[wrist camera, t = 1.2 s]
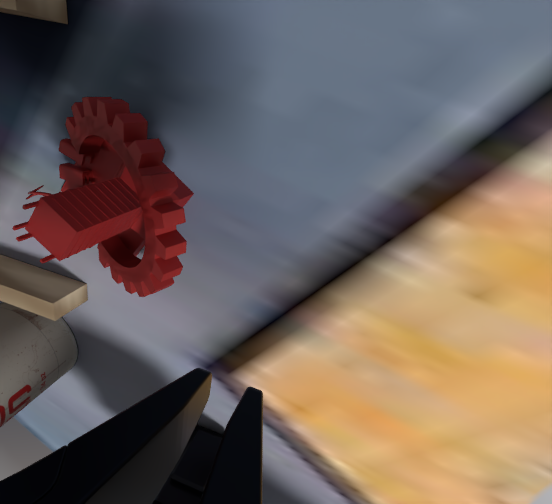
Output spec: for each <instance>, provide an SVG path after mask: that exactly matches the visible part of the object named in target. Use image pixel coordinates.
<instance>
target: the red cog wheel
mask: <svg viewBox="0 0 552 504" xmlns="http://www.w3.org/2000/svg"><path fill="white" fill-rule="evenodd" d="M82 101H83V102H75V103H74V104H73V106H72V107H71V108H72V112H73V116H74V117H67V120H66V124H65V125H66V128H67V130H68V133H69V135H70V138H71V139H68V138H67V139H62V140H61V141H60V145H59V151H60V152H61V153H63V154H64V155H66V156H68V157H69V158H71V159H73V160H74V161H76V163H75V165H74V164H70V163H65V164H60V166H59V171H60V178H61V179H64V180H66V182H65V183H64V185H63V187H62V189H61V191H62V192H59V193H56V194H50V193H45V192H36V191H37V190H39V189H40V188H41V187H43V186H44V185H42V186H41V187H39V188H37V189H35V190H33V191H31V192H28V193H29V194H31V195H30V196H29V197H27V198H26V199H29V198H30V197H32V196H34V195H43V196H45V197H41V198H40V200H39V201H37V202H33V203H29V204H25V205H23V207H22V208H23V209H24V210H25V209H29V208H32V207H36V208H35V210H34V212H33V214H32V216H31V218H30V220H29V221H28V222H25V223H22V224H19V225H15V226H13V228H12V229H13V230H17V229H20V228H24V227H26V228H25V229H26V230H27V231H28V232H29V233H28V234H25V235H22V236H19V237H17V238H16V240H18V241H22V240H25V239H28V238H30V237H34V238H35V239H36V240H37V241H39V242H40V243H41V244H42V245H43V246H44V247H45V248H46V249H47V250H48V251H49V252H50V253H51V254H52V255H49V256H47V257H45V258H42V259H40V262H41V263H42V264H43V263H45V262H47V261H49V260H52V259H54V258H57V259H58V260H59V261H61V260H63V259H65V258H69V256H71V255H73V254H77V253H78V252H80V251H82V250H86V248H88V247H89V248H91V247H92V246H94V245H95V244H97V243H98V247H97V248H98V249H99V261H100V262H101V264H102V265H103V267H104V268H106V267H109V266H110V269H111V274H112V278H113V279H114V280H115V281H116V282H117V284H118V283H121V282H123V283H124V286H125V289H126V291H127V292H129V293H131V294H132V293H135V292H137V293H138V295H139V297H145V296H147V295H149V294H153V293H155V292H158V291H160V290H162V289H165V288H167V287H169V286H171V285H172V284H173V283H174V280H173V278H172V277H175V276H177V275H179V274H180V273H181V271H182V268H183V266H182V264H181V262H180V261H179V259H178V257H177V256H178V255H180V254H183V253H186V242H187V241H186V240H185V239H184V238H183V237H182V236H181V234H180V233H179V232H178V231H177V230H176V225H178V224H181V223H184V222H186V221H185V214H184V208H183V206H184V205H185V204H186V203H187V201H188V200H189V199H190V198H191V196H192V195H193V194H194V193H193V192H192V191H191V190H190V189H189V188H188V187H187V186H186V185H185V184H184V183H183V182H182V181H181V180H180V179H179V178H178V177H177V176H176V175H175V174H174V172H172V171H171V170H170V169H169V168H168V167H167V166H166V165H165V164H164V163H163V162H162V160H163V157H164V154H165V150H164V148H163V146H162V144H161V142H160V140H159V139H147V125H148V122H147V121H146V119H145V118H144V117H143V116H142V115H141V114H140V113H130V109H129V103H127V102H125V101H124V100H122V99H112V97H84V98H82ZM144 245H145V250H144V254H143V258H142V260H141V259H139V258H137V257H136V256H137V254H138V253H139V252H140V251H141V249H142V248H143V247H144Z"/></svg>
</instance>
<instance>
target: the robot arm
mask: <svg viewBox="0 0 552 504" xmlns="http://www.w3.org/2000/svg"><path fill="white" fill-rule="evenodd" d="M211 380H212V373H211V372H209V371H207V370H204V369H201V368H196V369H194V370H192V371H191V372H189V373H187V374H186V375H184V376H182V377H180V378H179V379H177V380H175V381H174V382H172V383H170V384H169V385H167V386H165V387H163V388H162V389H160V390H158V391H157V392H155V393H153V394H152V395H150V396H148V397H147V398H145V399H143V400H141V401H140V402H138V403H136V404H135V405H133V406H131V407H130V408H128V409H126V410H124V411H123V412H121V413H119V414H118V415H116V416H114V417H113V418H111V419H109V420H107V421H106V422H104V423H102V424H101V425H99V426H97V427H96V428H94V429H92V430H90V431H89V432H87V433H85V434H84V435H82V436H80V437H79V438H77V439H75V440H73V441H72V442H70V443H69V444H68V446H66V445H65V446H63V447H61V448H60V449H58V450H56V451H54V452H53V453H51V454H50V455H48V456H46V457H44V458H42V459H41V460H39V461H37V462H35V463H33V464H32V465H30V466H28V467H27V468H25V469H23V470H21V471H19V472H17V473H16V474H13V475H12V476H9V477H7V478H6V479H4V480H2V481H0V504H262V436H263V393H262V391H261V390H258V389H255V388H253V387H248V388H247V389H246V391H245V393H244V394H243V396H242V398H241V400H240V402H239V403H238V405H237V407H236V409H235V411H234V413H233V414H232V416H231V418H230V420H229V422H228V424H227V426H226V429H225V431H224V434H223V436H222V435H220V434H217V433H215V432H212V431H210V430H207V429H205V428H202V427H200V426H197V425H196V424H197V422H198V420H199V418H200V416H201V414H202V412H203V410H204V408H205V405H206V403H207V401H208V398H209V395H210V387H211Z"/></svg>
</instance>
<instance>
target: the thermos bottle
mask: <svg viewBox="0 0 552 504" xmlns="http://www.w3.org/2000/svg"><path fill="white" fill-rule="evenodd" d="M77 357H78V349H77V344H76V340H75V338H74V335H73V333H72V331H71V330H70V328H69V326H68V325H67V324H66V322H65V321H64V319H63V318H62V317H61V318H59V319H58V320H56V321H54V320H51V319H48V318H46V317H43V316H40V315H38V314H35V313H32V312H30V311H27V310H24V309H22V308H19V307H16V306H14V305H11V304H8V303H6V302H3V303H1V304H0V427H1V426H2V425H4V424H5V423H6V422H7V421H8V420H10V419H11V418H12V417H13V416H14V415H16V414H17V413H18V412H19V411H21V410H22V409H23V408H24V407H25V406H27V405H28V404H29V403H30V402H31V401H33V400H34V399H35V398H36V397H37V396H39V395H40V394H41V393H42V392H43V391H45V390H46V389H47V388H48V387H49V386H51V385H52V384H53V383H54V382H55V381H57V380H58V379H59V378H60V377H61V376H63V375H64V374H65V373H66V372H68V371H69V370H70V369H71V368H72V367H73V366H74V364H75V363H76V360H77Z"/></svg>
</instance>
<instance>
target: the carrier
mask: <svg viewBox="0 0 552 504" xmlns="http://www.w3.org/2000/svg"><path fill="white" fill-rule="evenodd" d="M0 12H3V13H8V14H14V15H19V16H25V17H30V18H36V19H42V20H47V21H53V22H58V23H64V24H68V18H67V5H66V0H0ZM87 300H88V297H87V284H85V283H82V282H80V281H77V280H74V279H71V278H68V277H65V276H62V275H59V274H56V273H53V272H50V271H47V270H45V269H42V268H39V267H36V266H33V265H30V264H27V263H24V262H21V261H18V260H15V259H12V258H10V257H7V256H4V255H1V254H0V301H3V302H6V303H8V304H11V305H14V306H16V307H19V308H22V309H24V310H27V311H30V312H32V313H35V314H38V315H40V316H43V317H46V318H48V319H51V320H54V321H56V320H58V319H59V318H61V317H62V316H64V315H65V314H67V313H68V312H70V311H72V310H73V309H75V308H76V307H78V306H79V305H81V304H82V303H84V302H86V301H87Z"/></svg>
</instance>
